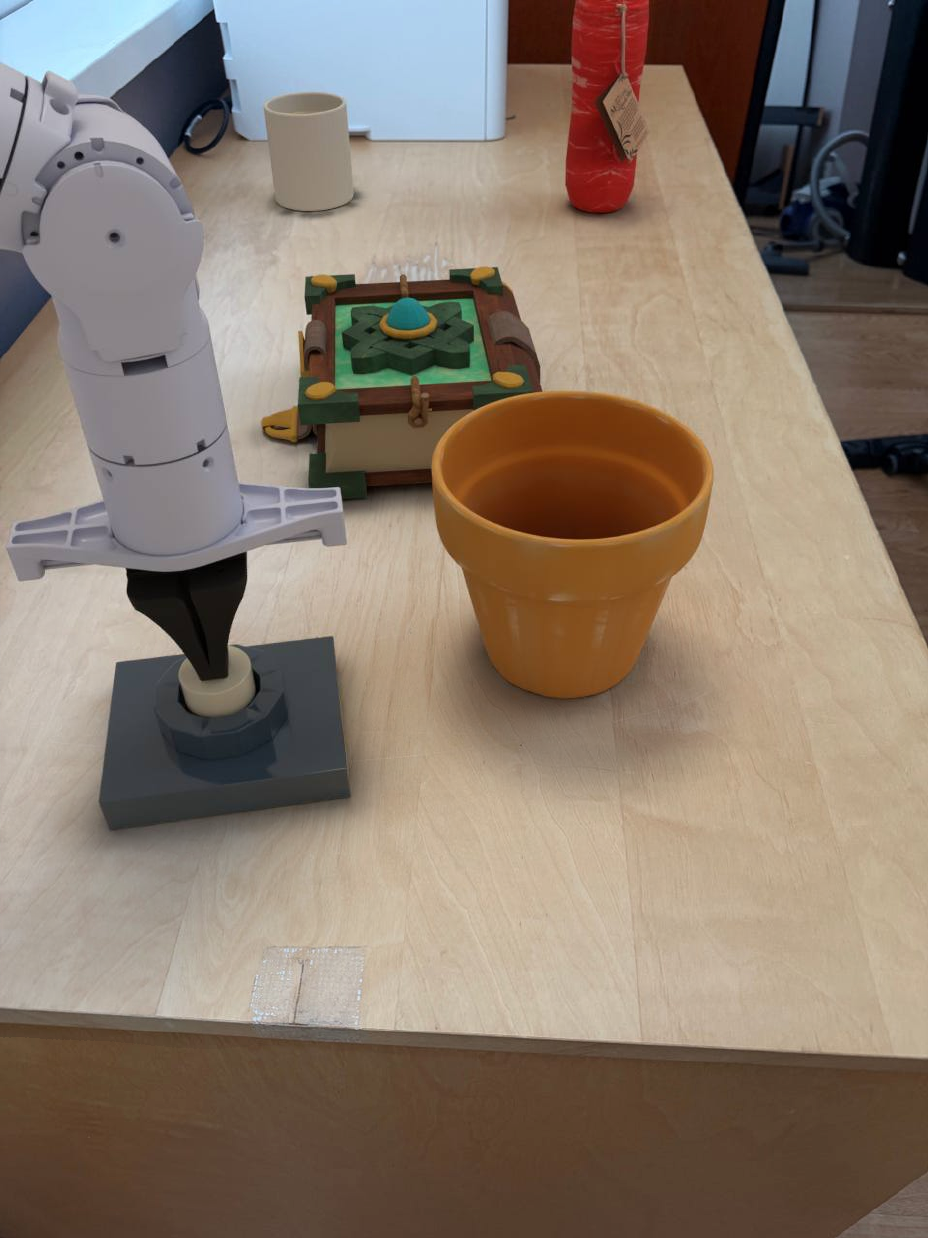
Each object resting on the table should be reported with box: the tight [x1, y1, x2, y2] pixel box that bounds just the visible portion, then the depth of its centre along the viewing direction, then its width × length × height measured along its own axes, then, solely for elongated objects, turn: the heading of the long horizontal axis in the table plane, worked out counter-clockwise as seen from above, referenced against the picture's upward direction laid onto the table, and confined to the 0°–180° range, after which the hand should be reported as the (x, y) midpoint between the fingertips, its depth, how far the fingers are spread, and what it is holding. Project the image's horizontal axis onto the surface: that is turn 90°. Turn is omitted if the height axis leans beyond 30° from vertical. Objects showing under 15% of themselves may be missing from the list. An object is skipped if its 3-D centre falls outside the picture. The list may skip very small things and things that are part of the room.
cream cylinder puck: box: [179, 644, 256, 718], centre depth 53 cm, size 4×4×2 cm
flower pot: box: [431, 390, 715, 699], centre depth 57 cm, size 14×14×13 cm
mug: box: [263, 91, 355, 212], centre depth 115 cm, size 11×10×10 cm
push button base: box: [98, 635, 352, 831], centre depth 54 cm, size 12×10×4 cm
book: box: [260, 266, 544, 500], centre depth 79 cm, size 27×21×10 cm
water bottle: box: [564, 0, 651, 214], centre depth 106 cm, size 12×8×25 cm, turn 7°
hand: (214, 665), depth 52 cm, fingers closed
